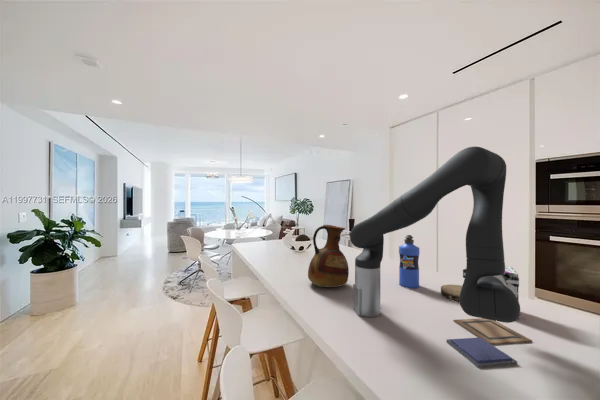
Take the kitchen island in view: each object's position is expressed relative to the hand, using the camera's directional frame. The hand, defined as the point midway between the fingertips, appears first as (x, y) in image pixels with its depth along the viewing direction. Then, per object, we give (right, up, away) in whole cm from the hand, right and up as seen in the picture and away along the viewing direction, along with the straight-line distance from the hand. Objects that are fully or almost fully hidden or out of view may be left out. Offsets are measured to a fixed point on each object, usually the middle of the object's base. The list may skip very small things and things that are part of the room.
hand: (489, 271), depth 80 cm
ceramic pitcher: (-49, -19, +41) cm, 66 cm away
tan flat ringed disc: (+8, -19, +26) cm, 33 cm away
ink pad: (-14, -18, -14) cm, 27 cm away
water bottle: (-9, -19, +40) cm, 45 cm away
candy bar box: (+15, -19, +11) cm, 26 cm away
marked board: (-2, -19, -2) cm, 19 cm away
